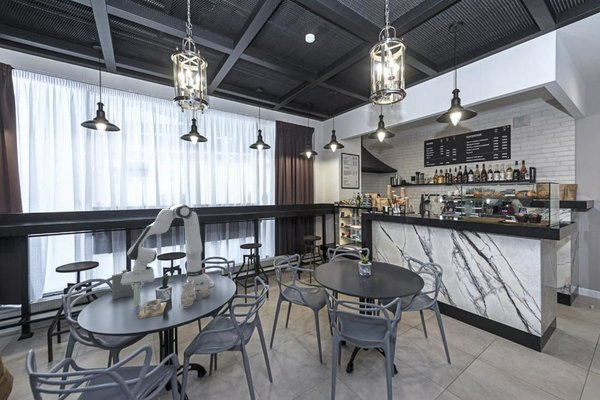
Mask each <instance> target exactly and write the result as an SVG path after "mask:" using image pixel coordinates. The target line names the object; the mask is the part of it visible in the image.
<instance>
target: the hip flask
mask: <svg viewBox="0 0 600 400" xmlns="http://www.w3.org/2000/svg"><path fill="white" fill-rule="evenodd" d="M125 272H129V271H128V269H123V270H121V273H116V274H112V275H111V284H112V285H111V287H112V288H111V289H112V292H111V293H112V299H113V300H115V298H116V299H118V298H124V297H129V296H130V297H131V296H134V290H132V286H131V284H130V285H122V284H121V279H122V275H123V274H124V273H125ZM134 285H135V284H134ZM134 285H133V286H134Z"/></svg>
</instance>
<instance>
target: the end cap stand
mask: <svg viewBox="0 0 600 400" xmlns="http://www.w3.org/2000/svg"><path fill="white" fill-rule="evenodd" d="M166 307H167V302H165V301H164V302H162V299H161V298H159V299H152V300H151V299H150V300H147V301H146V303H145V305H143V306H142V308H141V309H140V312H139V313H138V314H137V319H144V318H150V317H156V316H163V314H164V312H165V309H166Z"/></svg>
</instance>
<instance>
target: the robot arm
mask: <svg viewBox="0 0 600 400" xmlns="http://www.w3.org/2000/svg"><path fill="white" fill-rule="evenodd" d="M176 218H177V219H183V222H184V232H185V233H184V234H185V239H186V243H185V247H184V248H185V257H186V259H185V260H186V270H185V271H186V273H185V274H186V276H185V277H186V282H187V281H188V279H190V281H195V282H196V284H197V285H196V288H195V282H194V283H193V289H194V288H195V289H194V290H195V291H200V290H201V289H206V288H209V289H210V288H212V287H214V286H215V282H214V281H213V280H212V279H211V276H209V274H206V273H205V269H204V268H202V260H201V259H202V257H201V254H202V252H203V244H202V238H201V232H200V223H199V222H200V221H199V217H198V214H197V212H196V211H192V210H191V208H190V207H189V206H188V205H187V204H182V203H179V204H178V203H177V204H174V205H172V206H171V207H170V208H167V207H166V208H162V209H161V211H159V213H158V214H157V216H156V218H155V220H154V222H153V223H151V224H149V225H147V226H146V227H145V228H144V230H142V232H141V233H140V235H139V236H138V238H137V239H136V240H135V242H134V243H133V244H132V246H131V247H130V248H129V249H128V250H127V253H126V256H127V257H128V259H129V260H132V261H133V262H134V264H133V267H132V271H127V272H125V273H124V274H123V275H122V279H121V284H122V285H130V284H131V286H132V290H134V286H133V285H134V284H135V283H140V286H139V287H138V288H139V289H140V290H142V287H143V285H145V283H151V282H154V281H155V271H154V268H153V267H152V266H148V264H152V263H153V262H155V261H156V259H157V251H156V250H155V249H151V248H148V247H143V246H142V245H143V244H144V242H145V241H146V240H147V238H148V237H149V236H151V235H161V234H164V233H166V232H167V231H168V230H169V229H170V227H171V224H172V222H173V221H174V220H175V219H176Z"/></svg>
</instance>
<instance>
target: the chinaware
mask: <svg viewBox="0 0 600 400" xmlns="http://www.w3.org/2000/svg"><path fill="white" fill-rule="evenodd" d="M194 282H195V281H190V279H188V281H187V280H186V282H184V283H183V284H184V285H182V286H181V287H182V292H181V295H180V296H181V297H180V299H181V300H180V304H179V305H178V308H180V309H182V308H183V309H190V308H191V307H192V305H193V304H194V302H195V301H196V299H197V298H198V294H197V292H196V290H194V289H195V288H196V285H197V284H196V282H195V288H194V289H193V283H194ZM197 291H198V293H199V296H200V297H202V299H206V298H208V296H209V295H210V292H211V291H212V290H211V289H210V288H205V289H200V290H197ZM181 305H182V306H181ZM180 306H181V307H180Z"/></svg>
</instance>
